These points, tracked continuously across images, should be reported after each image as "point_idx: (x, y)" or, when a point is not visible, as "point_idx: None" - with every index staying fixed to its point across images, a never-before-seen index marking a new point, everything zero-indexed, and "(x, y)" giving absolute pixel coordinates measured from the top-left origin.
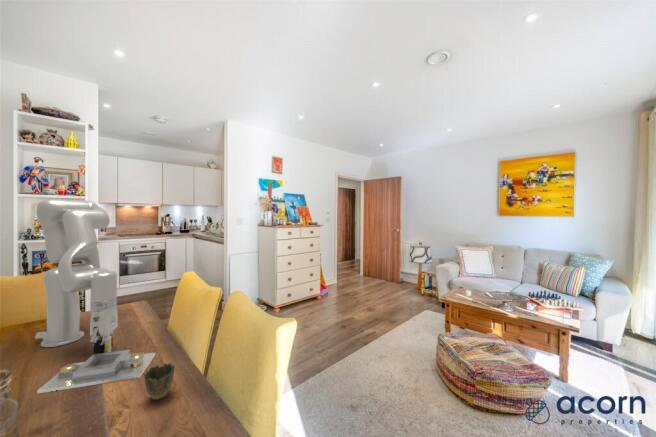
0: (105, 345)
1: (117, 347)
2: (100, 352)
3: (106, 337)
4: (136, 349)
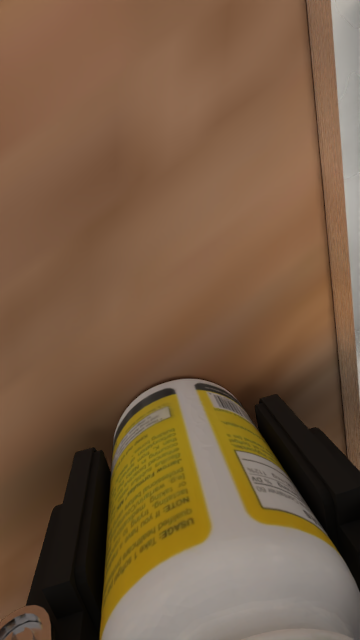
0: (278, 470)
1: (26, 408)
2: (316, 430)
3: (310, 623)
4: (66, 107)
